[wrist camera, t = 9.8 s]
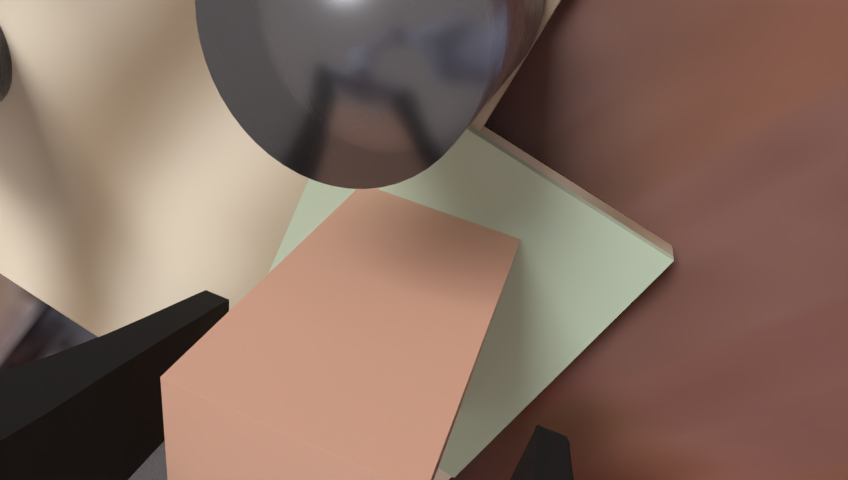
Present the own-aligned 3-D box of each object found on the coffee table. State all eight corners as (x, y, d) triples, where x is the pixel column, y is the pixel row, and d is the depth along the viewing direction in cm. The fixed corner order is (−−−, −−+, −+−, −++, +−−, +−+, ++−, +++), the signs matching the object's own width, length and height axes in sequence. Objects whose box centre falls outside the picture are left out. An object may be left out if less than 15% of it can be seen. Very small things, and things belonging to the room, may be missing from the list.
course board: (842, 70, 10) (1007, 193, 6) (402, 516, 21) (335, 686, 16) (-119, -536, 11) (-710, -889, 6) (-70, 209, 21) (-268, 290, 17)
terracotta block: (520, 239, 13) (424, 493, 7) (459, 410, 16) (360, 680, 11) (362, 183, 14) (160, 377, 8) (333, 358, 17) (175, 586, 11)
